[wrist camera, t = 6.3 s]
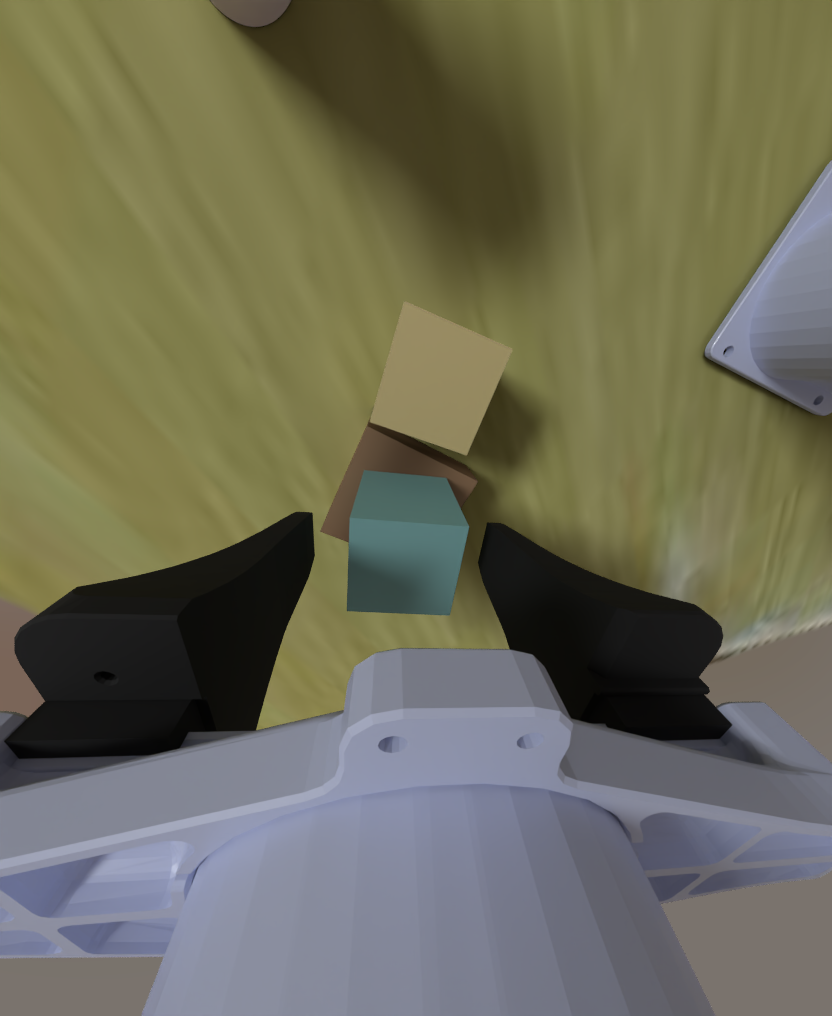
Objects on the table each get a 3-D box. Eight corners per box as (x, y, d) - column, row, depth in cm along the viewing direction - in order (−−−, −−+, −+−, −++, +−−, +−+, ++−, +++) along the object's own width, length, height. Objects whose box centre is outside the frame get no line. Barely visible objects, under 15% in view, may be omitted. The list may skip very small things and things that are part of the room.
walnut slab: (464, 463, 18) (478, 481, 15) (417, 542, 20) (421, 570, 17) (371, 415, 16) (367, 426, 13) (330, 506, 18) (320, 531, 15)
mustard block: (476, 354, 15) (512, 349, 10) (446, 431, 16) (466, 455, 12) (400, 321, 14) (404, 301, 10) (375, 405, 16) (369, 421, 11)
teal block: (434, 546, 16) (449, 615, 12) (360, 541, 16) (346, 611, 11) (446, 477, 15) (469, 527, 10) (364, 470, 14) (349, 517, 10)
